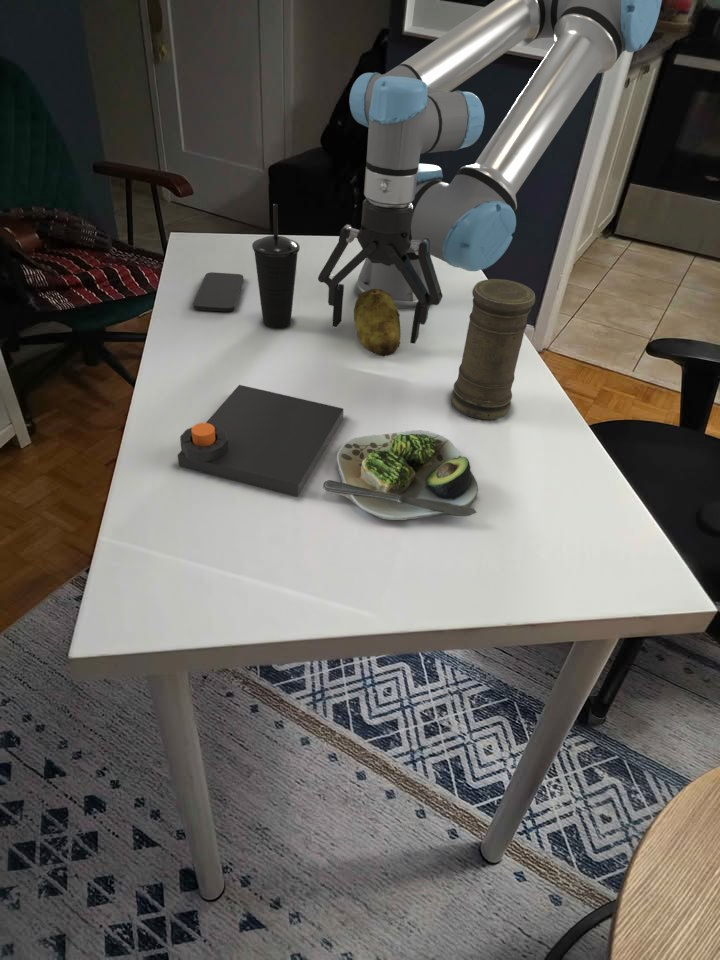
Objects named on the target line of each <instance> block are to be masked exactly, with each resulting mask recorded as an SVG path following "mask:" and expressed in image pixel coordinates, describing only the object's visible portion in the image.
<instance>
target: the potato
mask: <svg viewBox="0 0 720 960" xmlns="http://www.w3.org/2000/svg"><path fill="white" fill-rule="evenodd" d="M400 316H401V314H400V312H399V308H397V307H396V306H395V305H394V302H393V299H392V297H391V295H390V294H388V293H387V292H385V291H383V290H382V289H371V290H368V291H364V292H362V293H361V294H359V295H358V297H357V299H356V301H355V303H354V307H353V318H354V324H355V328H356V332H357V338H358V340H359V341H360V344H361V345H362V346H363V348H364V349H365V350H366V351H368V352H369V353H371V354H374V355H377V356H379V357H389V356H392V355H394V354H395V353H396V352H397V351H398V349H399V348H400V346H401V343H402V342H401V337H402V336H401V335H402V333H401V320H400Z"/></svg>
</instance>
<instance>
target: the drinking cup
mask: <svg viewBox="0 0 720 960" xmlns="http://www.w3.org/2000/svg"><path fill="white" fill-rule="evenodd" d="M272 206H273V207H272V208H273V212H272V213H273V216H272V217H273V235H267V236H263V237H261V238H258V239H255V240H254V241H253V242H252V244H251V247H252V250H253V252H254V259H255V266H256V275H257V284H258V292H259V299H260V300H259V301H260V307H261V316H262V323H263V325H264V326H265V327H267V328H270V329H279V330H280V329H281V330H282V329H285V328H288V327H290V325H291V323H292V315H293V313H292V312H293V305H294V303H293V302H294V294H295V284H296V274H297V265H298V253H299V251H300V249H301V248H300V244H299V243H298V242H297V241H295V240H293V239H291V238H288V237H286V236H284V235H283V236H282V235H279V208H278V207H279V205H278V203H273V205H272Z"/></svg>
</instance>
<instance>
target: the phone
mask: <svg viewBox="0 0 720 960" xmlns="http://www.w3.org/2000/svg"><path fill="white" fill-rule="evenodd" d="M244 277H245V276H244V275H243V274H241V273H231V272H230V273H229V272H214V271H213V272H212V271H211V272H207V273H206V274H205V275H204V277H203V279H202V281H201V284H200V287H199V289H198V291H197V294H196V295H195V298H194V301H193V303H192V305H193V309H195V310H197V311H209V312H228V313H229V312H233V311H234V310H235V308H236V306H237V303H238V299H239V296H240V294H241V290H242V287H243V284H244V281H245V279H244Z"/></svg>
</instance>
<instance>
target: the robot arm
mask: <svg viewBox="0 0 720 960" xmlns="http://www.w3.org/2000/svg"><path fill="white" fill-rule="evenodd" d="M662 1H663V0H493V1H492V2H490V3H489V4H487V5H486V6H484V7H483V8H481V9H479V10H478V11H477V12H475V13H474V14H473V15H470V17H467V18H466V19H465V20H464V21H463V20H462V22H460V23H459V24H457V25H456V26H455V27H452V29H450V30H449V31H447V32H446V33H444V34H443V35H441V36H440V37H438V38H437V39H435V40H434V41H432V42H431V43H429V44H428V45H426V46H425V47H423V48H422V49H420V50H419V51H418V52H415V54H413V55H412V56H410V57H409V58H407V59H406V60H404V61H403V62H401V63H400V64H398V65H396V66H395V67H393V68H392V69H391V70H389V71H387V72H385V73H383V74H381V73H380V72H376V71H375V72H365V73H362V74H360V75H359V76H358V78H356V80H355V81H354V82H353V84H352V87H351V88H350V93H349V99H348V100H349V101H348V103H349V109H350V113H351V116H352V117H353V119H354V120H355V121H356V122H357V123H358V124H360V125H362V126H364V127H366V128H368V130H367V131H368V133H367V149H366V164H365V173H364V186H363V187H364V188H363V196H364V197H365V198H364V200H363V201H362V209H361V210H362V211H361V221H360V222H361V223H360V225H361V226H360V229H357V228H355V227H354V228H353V225H352V224H350V223H347V224H345V225H344V226H343V227H342V228H341V229H340V231H339V237H338V242H337V244H336V245H335V247H334V249H333V250H332V252H331V254H330V256H329V258H328V259H327V261H326V262H325V264H324V266H323V268H322V270H321V271H320V273H319V275H318V277H317V280H318V282H319V283H324V284H325V285H327V287H328V296H327V297H328V299H327V303H328V306H331V307H332V308H333V309H332V325H331V326H332V327H333V328H338V326H339V325H340V324H341V322H342V319H343V303H344V289H345V284H344V283H343V284H342V283H341V282H342V281H343V280H344V279H345V278H347V276H349V274H351V273H352V272H353V271H354V270H355V269H356V268H357V267H359V265H360V264H361V263H363V264H362V268H361V269H360V272H359V275H358V278H357V282H356V283H357V285H356V287H357V288H356V291H357V293H358V294H359V295H360V294H361V293H362V292H364V291H368V290H371V289H382V290H383V291H385V292H387V293H388V294H390V295H391V297H392V299H393V302H394V305H395V306H396V307H397V309H412V308H414V314H413V320H412V327H411V334H410V342H409V343H410V344H416V342H417V340H418V338H419V335H420V327H421V325H425V324H426V322H427V320H428V318H429V311H430V306H433V305H434V306H438V305H439V304H440V303H441V302H442V299H443V292H442V288H441V285H440V283H439V279H438V276H437V273H436V270H435V266H434V263H433V260H432V257H434V258H437V259H438V260H441V261H443V262H445V263H447V264H448V265H449V266H451V267H454V268H457V269H458V268H460V269H462V270H465V271H467V272H479V271H483V270H485V269H488V268H490V267H491V266H493V265H494V264H495V263H496V262H497V261H498V260H500V258H501V257H503V255H504V254H505V253H506V251H507V250H508V249H509V246H510V244H511V243H512V240H513V236H512V235H513V234H514V233H515V231H516V227H517V217H516V214H515V213H516V210H517V208H518V202H517V197H516V195H517V193H518V192H519V190H520V188H521V187H522V186H523V184H524V182H525V181H526V179H527V178H528V177H529V175H530V174H531V172H532V171H533V169H534V168H535V167H536V166H537V165H536V164H537V163H538V162H539V160H540V159H541V158H542V157H543V154H544V153H545V151H546V150H547V149H548V147H549V146H550V144H551V142H552V141H553V139H555V136H556V135H557V134H558V132H559V130H560V129H561V127H562V126H563V125H564V124H565V122H566V121H567V119H568V118H569V115H570V114H571V113H572V112H573V110H574V108H575V107H576V105H577V104H578V102H579V101H580V99H582V97H583V95H584V93H585V92H586V91H587V89H588V87H589V86H590V84H591V83H592V82H593V80H594V78H596V76H597V74H602V73H606V72H607V71H609V70H610V69H613V67H614V65H615V64H616V62H617V61H618V59H619V58H620V57H621V55H622V54H623V53H624V52H625V51H626V52H627V53H633V52H638V51H640V50H642V49H643V48H644V47H645V46H646V44H647V43H648V42H649V40H650V39H651V37H652V35H653V32H654V31H655V28H656V25H657V22H658V20H659V16H660V12H661V6H662ZM549 38H551V39H552V38H553V39H554V43H553V44H552V46H551V47H550V49H549V51H548V52H547V53H546V55H545V57H544V58H543V60H542V61H541V62H540V64H539V66H538V67H537V68H536V70H535V71H534V73H533V75H532V76H531V77H530V78H529V81H528V82H527V84H526V85H525V86H524V88H523V90H522V91H521V93H520V94H519V95H518V97H517V98H516V100H515V101H514V103H513V104H512V106H511V108H510V109H509V111H508V112H507V114H506V115H505V117H504V118H503V120H501V123H500V124H499V126H498V128H496V130H495V131H494V133H493V135H492V136H491V138H490V139H489V141H488V142H487V144H486V145H485V147H484V148H483V150H482V151H481V153H480V155H479V156H478V158H477V159H476V160H475V162H474V163H473V164H469V165H464V166H463V165H462V166H461V167H460V168H459V170H458V171H457V172H456V174H455V176H454V177H453V179H452V180H451V182H450V183H448V182H445V181H442V180H443V177H444V175H443V170H442V168H441V167H440V166H439V165H437V164H436V165H435V164H430V163H420V159H421V155H423V154H431V153H439V152H440V153H441V152H448V151H452V152H456V151H458V150H460V149H463V148H468V147H470V146H472V145H474V144H475V143H476V142H477V141H478V140H479V139H480V136H481V134H482V132H483V129H484V125H485V117H486V116H485V110H484V106H483V103H482V101H481V100H480V98H479V97H478V96H477V95H476V94H474V93H473V92H470V91H461V90H459V89H458V90H455V91H453V90H454V89H456V88H457V87H459V86H460V85H461V84H463V83H464V82H466V81H467V80H468V79H470V78H471V77H472V76H474V75H476V74H477V73H479V72H480V71H481V70H482V69H484V68H485V67H487V66H488V65H490V64H491V63H493V62H495V61H496V60H497V59H499V58H500V57H502V56H503V55H504V54H506V53H507V52H508V51H510V50H511V49H513V48H514V47H525V46H527V45H529V44H531V43H533V41H535V40H538V39H549ZM355 239H357V242H358V244H359V245H360V247H361V250H360V251H359V252H358V253H357V254H355V256H354V257H353V258H352V259H351V260H350V261H349V262H348V263H346V264H345V266H344V267H342V268H341V269H340V270H339V271H338V272H337V273H336V274H335V275H334V274H332V273H333V270H334V269H335V268H336V266H337V264H338V262H339V260H340V259H341V258H342V256H343V253H344V252H345V251H346V249H347V247H348V246H349V244H351V243H353V242H354V241H355Z"/></svg>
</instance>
